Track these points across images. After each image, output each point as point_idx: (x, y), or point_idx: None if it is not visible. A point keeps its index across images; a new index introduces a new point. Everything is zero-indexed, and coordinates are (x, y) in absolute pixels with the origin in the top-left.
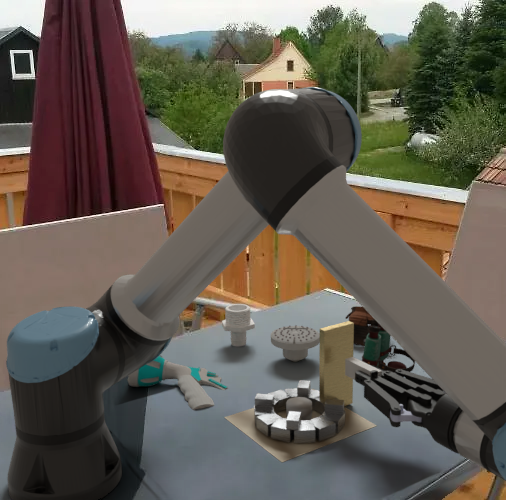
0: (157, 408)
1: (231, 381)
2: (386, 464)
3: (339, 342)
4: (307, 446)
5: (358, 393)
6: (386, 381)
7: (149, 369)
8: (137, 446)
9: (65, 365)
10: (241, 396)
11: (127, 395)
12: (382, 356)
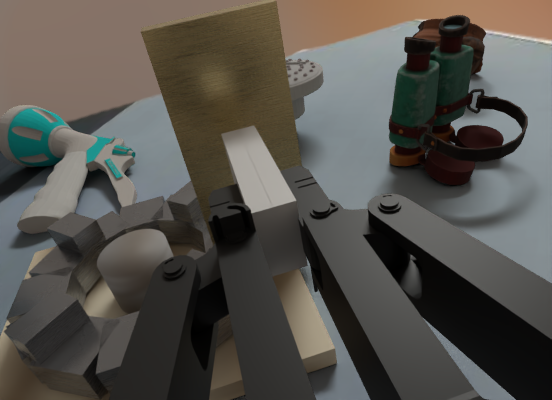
0: (3, 211)
1: (160, 161)
2: None
3: (226, 76)
4: None
5: (363, 203)
6: (260, 286)
7: (22, 142)
8: None
9: None
10: (142, 194)
11: (4, 181)
12: (445, 115)
